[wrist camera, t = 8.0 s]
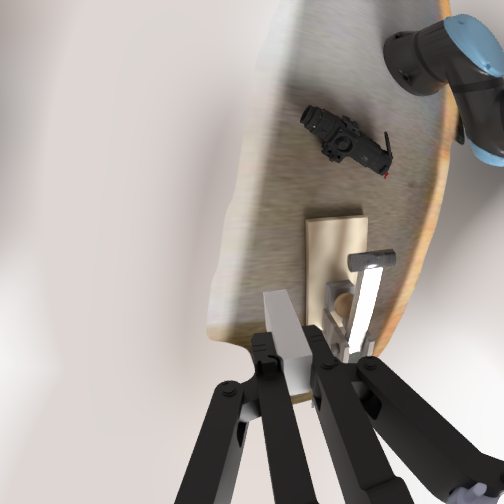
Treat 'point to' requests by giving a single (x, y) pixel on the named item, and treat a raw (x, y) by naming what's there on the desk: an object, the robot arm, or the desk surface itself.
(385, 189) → the desk surface
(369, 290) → the lever
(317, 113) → the night vision scope
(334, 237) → the press base
